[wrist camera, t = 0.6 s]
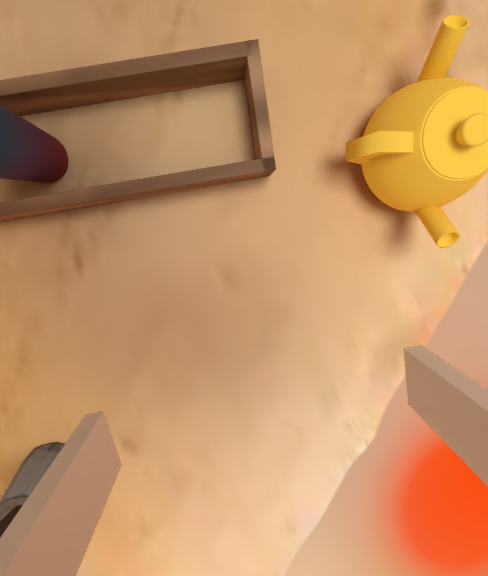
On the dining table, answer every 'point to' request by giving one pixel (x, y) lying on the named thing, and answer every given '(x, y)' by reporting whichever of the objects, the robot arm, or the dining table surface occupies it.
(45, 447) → the moka pot
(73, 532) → the robot arm
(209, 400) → the dining table surface
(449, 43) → the teapot
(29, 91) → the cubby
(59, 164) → the cup
